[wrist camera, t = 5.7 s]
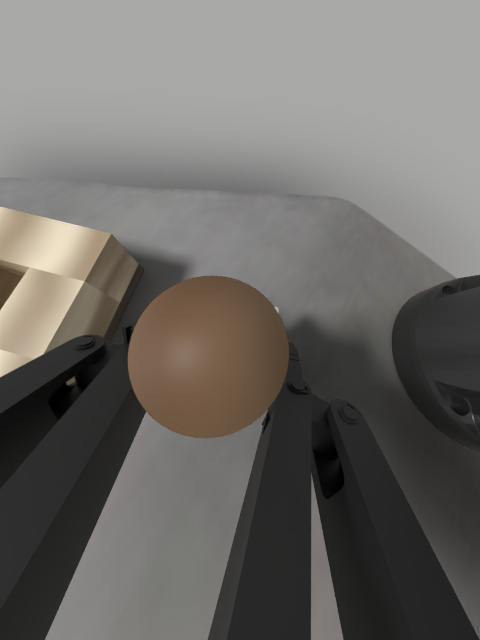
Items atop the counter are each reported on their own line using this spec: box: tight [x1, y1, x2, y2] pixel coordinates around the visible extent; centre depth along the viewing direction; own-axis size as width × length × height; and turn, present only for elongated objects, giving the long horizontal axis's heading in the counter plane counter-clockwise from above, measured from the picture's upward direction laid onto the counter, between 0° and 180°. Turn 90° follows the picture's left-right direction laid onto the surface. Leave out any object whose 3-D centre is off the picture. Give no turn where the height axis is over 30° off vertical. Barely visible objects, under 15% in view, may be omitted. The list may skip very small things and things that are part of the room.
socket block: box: [0, 207, 144, 385], centre depth 14 cm, size 14×14×5 cm
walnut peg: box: [128, 276, 289, 438], centre depth 10 cm, size 4×4×12 cm
